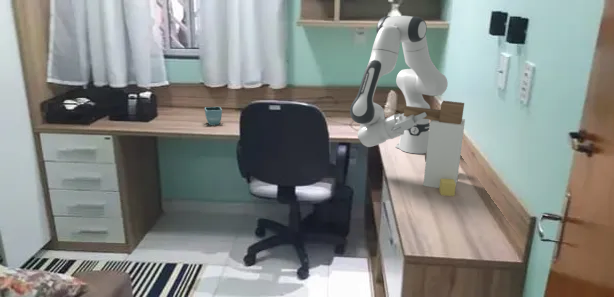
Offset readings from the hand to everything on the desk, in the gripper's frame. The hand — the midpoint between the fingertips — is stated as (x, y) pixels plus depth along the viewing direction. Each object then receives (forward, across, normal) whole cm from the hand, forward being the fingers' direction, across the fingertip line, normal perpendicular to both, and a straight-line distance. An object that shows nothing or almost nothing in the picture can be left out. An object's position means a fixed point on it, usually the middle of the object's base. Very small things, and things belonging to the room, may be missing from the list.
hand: (427, 112), depth 196 cm
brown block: (+1, 0, +3) cm, 3 cm away
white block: (-7, 0, +29) cm, 30 cm away
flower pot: (-119, +39, -36) cm, 131 cm away
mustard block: (-4, -10, +30) cm, 32 cm away
